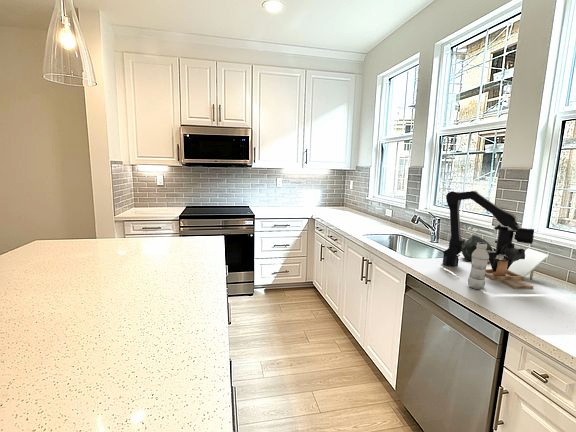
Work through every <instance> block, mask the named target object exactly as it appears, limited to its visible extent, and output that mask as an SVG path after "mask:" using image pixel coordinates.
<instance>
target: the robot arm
mask: <svg viewBox="0 0 576 432" xmlns="http://www.w3.org/2000/svg"><path fill="white" fill-rule="evenodd" d="M445 199H446V203H447V205H448V208H449V218H450V219H449V221H450V239H449V242H448V248H447V249H445V250H444V251H443V253H442V254H443V257H442V265H443V266H444V267H445V266H446V267H452V268H455V267H458V266H459V261H460V259H459V254H461V253H462V251H463V249H464V247H465V242H466V240H465V238H462V236H461V221H460V220H461V219H460V206H461V203H462V201H463V200H464V201H465V200H472V201H473V202H475V203H476V204H477V205H479V206H481V207H482V208H483V209H485V210H486V211H487V212H489V213H490V214H491V215H493V217H494V218H495V220H496V221H498V222H499V223H498V225H497V226H495V227H494V228H493V229H494V230H497V231H498V235H497V240H494V243H496V246H495V248H493V250H492V251H490V250H486V251H487V252H488V254H489V259H488V263H490V267H491V269H492V270H493V272H496V268H497V263H498V261H499V260H500V259H498V258H499V257H503V259H506V260H508V266H507V270H508V269H509V267H510V266H511V264H512V263H513V262H515V261H518V260H519V259H525V249H524V248H519V249H518V248H515V243H513V239H514V240H515V241H516V242H517V243H522V244H529V245H533V242H534V237H535V235H534V233H535V229H534V228H524V227H521V226H520V224H519V223H518V222H517V217H516V215H515V214H513V212H510V211H507V210H505V209H503V208H501V207H499V206H498V205H495V204H494V203H493V202H491V200H489V199H487V198H485V196H483V195H482V194H480V193H479V192H478V191H477V190H470V191H462V192H459V191H458V190H454V191H453V190H452V191H448V193H447V194H446V196H445Z"/></svg>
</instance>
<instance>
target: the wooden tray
mask: <svg viewBox="0 0 576 432" xmlns="http://www.w3.org/2000/svg"><path fill="white" fill-rule="evenodd" d="M485 278H487V279H490V280H492V281H501V280H521V281H524V278H525V277H522V276H520V275H518V274H515V273H513V272H511V271H509V270H507V272H506V276H493V270H492V268H486V271H485Z"/></svg>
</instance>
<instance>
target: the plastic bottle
mask: <svg viewBox="0 0 576 432" xmlns="http://www.w3.org/2000/svg"><path fill="white" fill-rule="evenodd" d="M476 247H477V249H476V250H474V251H473V253H472V261H471V269H470V272H469V276H468V278H467V285H468V287H469V288H471V289H474V290H480V291H481V290H483V289H485V287H486V276H485V271H486V269H487V266H488V263H489V260H488V259H489V254H488V252H487V251H486V249H487V244H486V243H481V242H478V243H477V246H476Z"/></svg>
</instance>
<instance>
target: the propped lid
mask: <svg viewBox="0 0 576 432" xmlns="http://www.w3.org/2000/svg"><path fill="white" fill-rule="evenodd" d="M524 250H525V249H524ZM548 257H550V255H549V254H548V253H544V252H542V251H539V250H534V249H532V248H527V249H526V250H525V259H519V260H518V261H515V262H513V263H512V264H511V266H510V267H509V269H508V270H509V271H511V272H513V273H515V274H518V275H520V276H522V277H524V278H526V276H528V275H529V280H533V279H534V278H533V277H534V273H535V272H534V271H535V269H536V268H537V267H538V266H539V265H541V263H543V262H544V261H545V260H546V259H547V258H548Z"/></svg>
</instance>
